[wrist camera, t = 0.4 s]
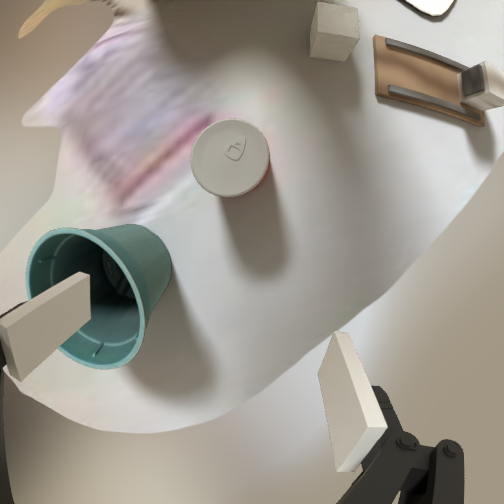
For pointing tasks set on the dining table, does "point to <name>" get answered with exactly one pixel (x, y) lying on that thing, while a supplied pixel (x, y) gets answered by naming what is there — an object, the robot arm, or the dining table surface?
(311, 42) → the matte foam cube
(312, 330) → the dining table surface
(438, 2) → the plate
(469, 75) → the rail board
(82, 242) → the flower pot
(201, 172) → the canned food
